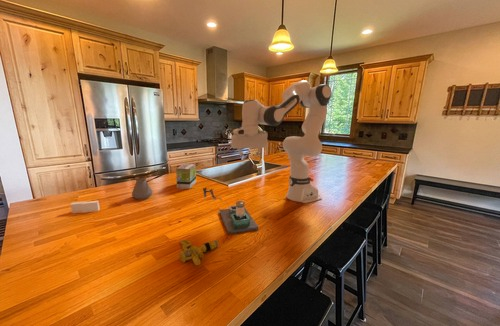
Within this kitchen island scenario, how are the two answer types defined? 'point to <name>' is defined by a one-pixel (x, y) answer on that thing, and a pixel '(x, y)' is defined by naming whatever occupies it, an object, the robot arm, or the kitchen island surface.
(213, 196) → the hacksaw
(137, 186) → the coffee pot
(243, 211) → the fitting
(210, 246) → the sprinkler
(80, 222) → the kitchen island surface
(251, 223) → the manifold plate
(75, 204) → the white rectangular block
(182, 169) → the tea box
